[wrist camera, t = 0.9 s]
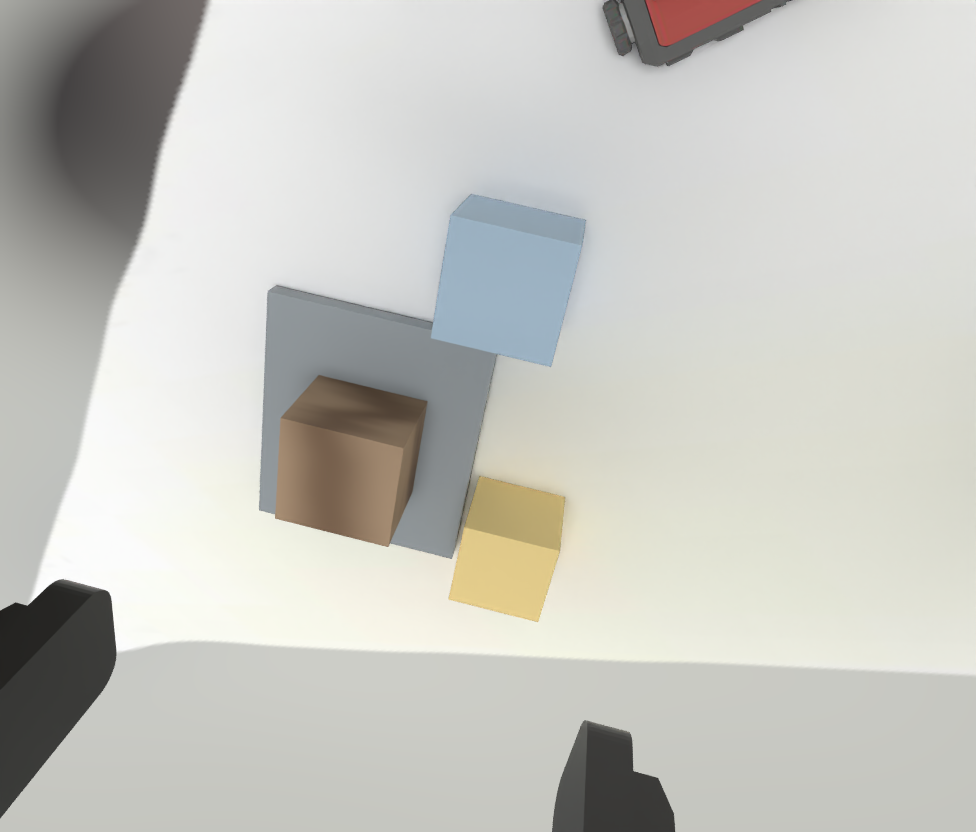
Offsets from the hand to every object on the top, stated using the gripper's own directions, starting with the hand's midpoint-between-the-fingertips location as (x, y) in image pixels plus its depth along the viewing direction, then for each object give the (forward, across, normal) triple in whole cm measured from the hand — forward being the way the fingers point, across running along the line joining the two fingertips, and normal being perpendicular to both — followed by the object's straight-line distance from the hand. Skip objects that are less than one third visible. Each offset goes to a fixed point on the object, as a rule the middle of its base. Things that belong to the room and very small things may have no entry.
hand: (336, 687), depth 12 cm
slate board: (+26, +6, +11) cm, 29 cm away
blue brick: (+26, 0, 0) cm, 26 cm away
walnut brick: (+25, +6, +11) cm, 28 cm away
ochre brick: (+26, -3, +15) cm, 30 cm away
